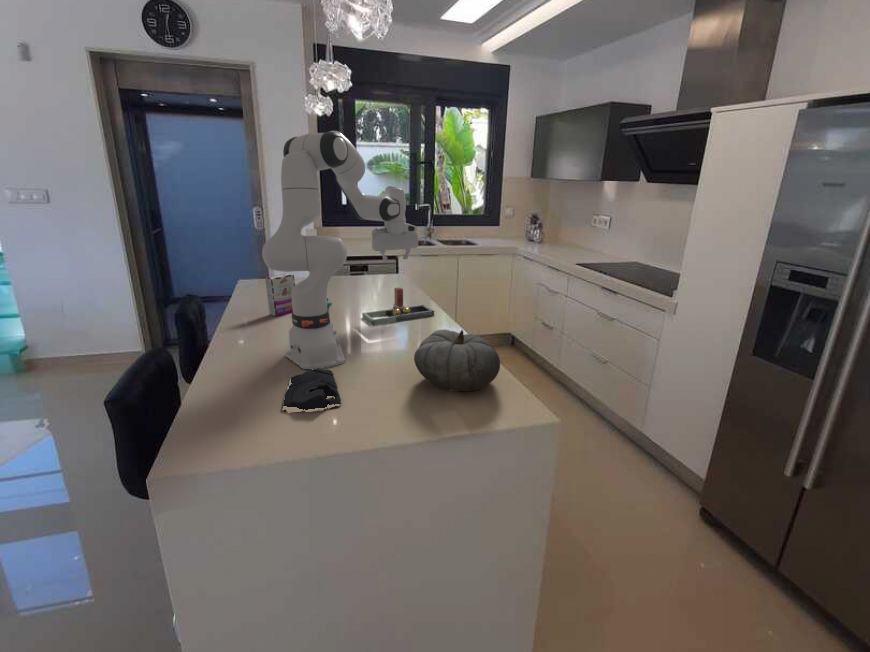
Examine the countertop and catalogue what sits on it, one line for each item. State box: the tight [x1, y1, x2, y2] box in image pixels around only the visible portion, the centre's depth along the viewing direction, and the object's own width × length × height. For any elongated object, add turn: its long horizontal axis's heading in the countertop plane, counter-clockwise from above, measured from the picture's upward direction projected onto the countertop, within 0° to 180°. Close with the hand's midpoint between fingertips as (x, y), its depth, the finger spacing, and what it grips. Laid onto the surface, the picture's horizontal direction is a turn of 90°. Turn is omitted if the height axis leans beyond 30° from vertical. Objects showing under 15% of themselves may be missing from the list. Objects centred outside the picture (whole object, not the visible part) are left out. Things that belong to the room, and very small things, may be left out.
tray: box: [362, 309, 397, 326], centre depth 185 cm, size 11×10×3 cm
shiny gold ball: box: [393, 308, 401, 316], centre depth 188 cm, size 4×4×4 cm
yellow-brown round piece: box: [402, 306, 411, 314], centre depth 190 cm, size 4×4×4 cm
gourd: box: [413, 328, 501, 392], centre depth 132 cm, size 25×25×17 cm
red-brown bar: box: [393, 287, 405, 309], centre depth 199 cm, size 6×3×10 cm, turn 29°
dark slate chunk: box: [282, 368, 342, 410], centre depth 126 cm, size 15×22×5 cm
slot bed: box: [385, 304, 435, 322], centre depth 191 cm, size 10×18×3 cm, turn 119°
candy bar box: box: [264, 272, 296, 317], centre depth 192 cm, size 11×5×16 cm, turn 143°
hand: (395, 259), depth 193 cm, fingers open, 8 cm apart
